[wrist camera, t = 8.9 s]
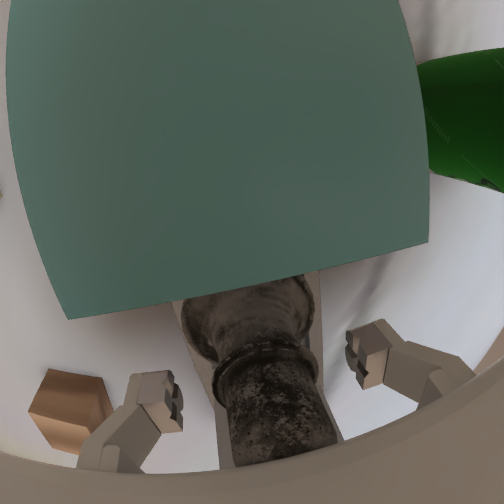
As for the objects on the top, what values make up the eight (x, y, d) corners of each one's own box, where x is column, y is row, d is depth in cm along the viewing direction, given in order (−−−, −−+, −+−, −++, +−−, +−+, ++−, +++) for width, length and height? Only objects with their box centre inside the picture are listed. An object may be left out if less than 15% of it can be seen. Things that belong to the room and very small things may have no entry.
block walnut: (49, 368, 18) (27, 411, 13) (102, 377, 18) (86, 426, 14) (66, 406, 19) (52, 448, 15) (115, 415, 20) (106, 461, 16)
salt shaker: (303, 237, 15) (465, 412, 4) (281, 330, 17) (358, 516, 6) (189, 224, 14) (159, 463, 3) (182, 324, 16) (177, 538, 5)
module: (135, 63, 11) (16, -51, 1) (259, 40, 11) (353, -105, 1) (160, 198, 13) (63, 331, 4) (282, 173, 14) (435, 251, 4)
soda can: (388, 172, 16) (566, 235, 5) (379, 54, 13) (548, 13, 2) (464, 174, 17) (598, 222, 5) (459, 76, 14) (595, 78, 3)
